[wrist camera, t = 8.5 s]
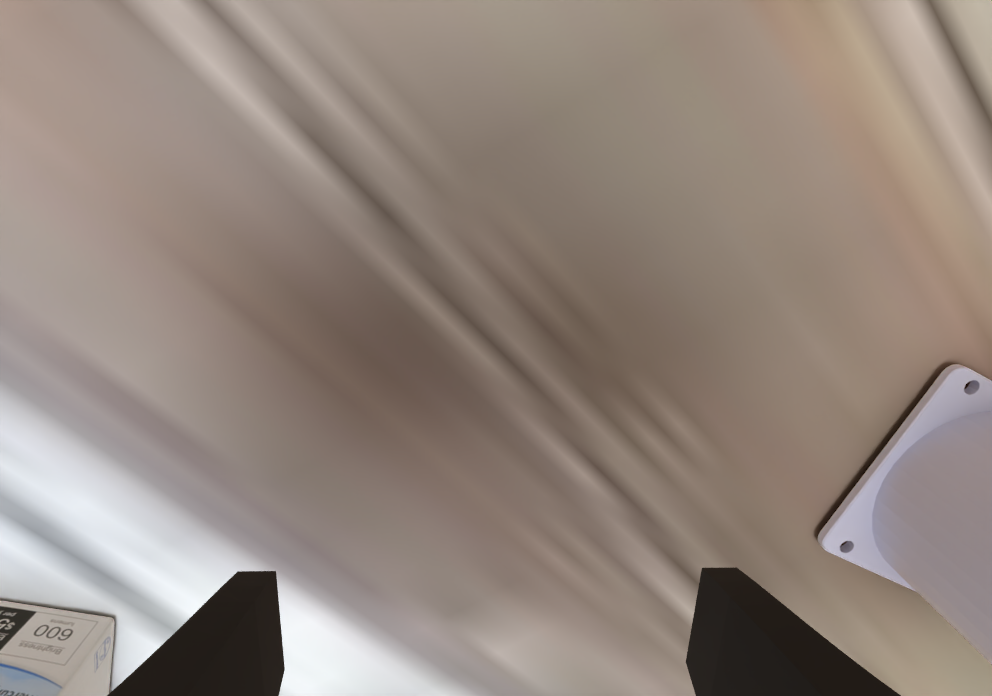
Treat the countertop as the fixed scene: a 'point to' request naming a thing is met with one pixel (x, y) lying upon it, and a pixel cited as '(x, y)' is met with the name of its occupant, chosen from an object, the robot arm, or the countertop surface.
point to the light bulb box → (54, 652)
